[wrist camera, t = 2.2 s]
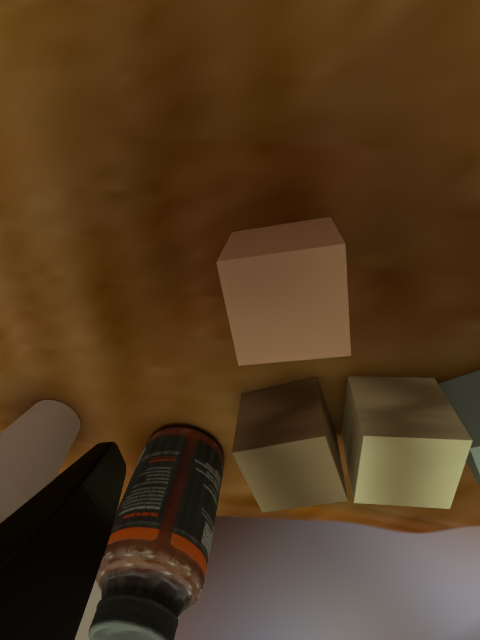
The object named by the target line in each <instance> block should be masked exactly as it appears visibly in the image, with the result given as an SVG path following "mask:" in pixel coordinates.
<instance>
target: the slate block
mask: <svg viewBox="0 0 480 640" xmlns="http://www.w3.org/2000/svg"><path fill="white" fill-rule="evenodd" d="M438 385H439V386H440V388H441V390H442V391H443V393H444V395H445V396H446V398H447V399H448V401H449V403H450V404H451V406H452V408H453V409H454V411H455V412H456V414H457V416H458V417H459V419H460V421H461V422H462V424H463V425H464V427H465V429H466V430H467V432H468V434H469V435H470V437H471V438H472V440H473V441H472V444H471V447H470V450H469V453H468V456H467V459H466V463H467V464H468V466H469V468H470V470H471V472H472V473H473V475H474V477H475V479H476V481H477V482H478V484H479V486H480V370H479V371H476V372H473V373H470V374H467V375H463V376H460V377H457V378H454V379H451V380H448V381H445V382H442V383H439V384H438Z"/></svg>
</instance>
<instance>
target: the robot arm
mask: <svg viewBox="0 0 480 640" xmlns="http://www.w3.org/2000/svg"><path fill="white" fill-rule="evenodd" d="M125 475H126V464H125V461H124V459H123V457H122V455H121V452H120V450H119V448H118V446H117V444H116V443H114V442H101V443H98V444H97V445H95V446H94V447H93V448H92V449H90V450H89V451H88V452H87V453H86V454H84V455H83V456H82V457H81V458H79V459H78V460H77V461H76V462H75V463H73V464H72V465H71V466H70V467H68V468H67V469H66V470H65V471H64V472H62V473H61V474H60V475H59V476H58V477H56V478H55V479H54V480H53V481H51V482H50V483H49V484H48V485H47V486H45V487H44V488H43V489H42V490H40V491H39V492H38V493H37V494H36V495H34V496H33V497H32V498H31V499H29V500H28V501H27V502H26V503H25V504H23V505H22V506H21V507H20V508H18V509H17V510H16V511H15V512H14V513H12V514H11V515H10V516H9V517H7V518H6V519H5V520H4V521H3V522H1V523H0V640H75V636H76V634H77V631H78V628H79V625H80V622H81V619H82V617H83V614H84V611H85V608H86V605H87V602H88V599H89V596H90V594H91V591H92V588H93V585H94V582H95V579H96V576H97V573H98V570H99V568H100V565H101V562H102V559H103V556H104V553H105V550H106V547H107V544H108V541H109V538H110V535H111V532H112V528H113V524H114V520H115V516H116V512H117V508H118V504H119V500H120V496H121V492H122V488H123V483H124V479H125Z"/></svg>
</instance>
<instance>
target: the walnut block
mask: <svg viewBox="0 0 480 640" xmlns="http://www.w3.org/2000/svg"><path fill="white" fill-rule="evenodd" d="M232 454H233V456H234V458H235V460H236V462H237V464H238V466H239V468H240V470H241V472H242V474H243V476H244V477H245V479H246V481H247V483H248V485H249V487H250V489H251V491H252V493H253V495H254V497H255V499H256V501H257V503H258V505H259V507H260V509H261V511H262V512H269V511H276V510H284V509H291V508H299V507H306V506H313V505H321V504H328V503H335V502H343V501H348V499H347V493H346V488H345V482H344V476H343V470H342V465H341V459H340V453H339V448H338V442H337V436H336V433H335V430H334V427H333V424H332V421H331V418H330V415H329V412H328V408H327V405H326V402H325V399H324V396H323V393H322V390H321V387H320V384H319V381H318V378H317V377H313V378H309V379H305V380H300V381H296V382H291V383H287V384H283V385H278V386H274V387H269V388H265V389H260V390H256V391H252V392H247V393H243V394H241V401H240V407H239V413H238V419H237V425H236V432H235V438H234V444H233V450H232Z"/></svg>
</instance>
